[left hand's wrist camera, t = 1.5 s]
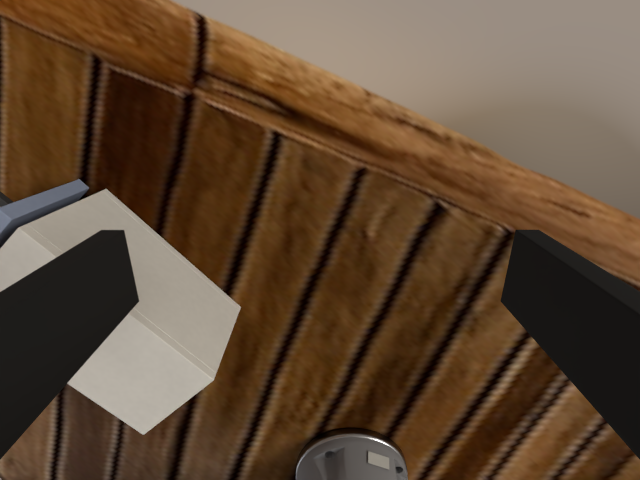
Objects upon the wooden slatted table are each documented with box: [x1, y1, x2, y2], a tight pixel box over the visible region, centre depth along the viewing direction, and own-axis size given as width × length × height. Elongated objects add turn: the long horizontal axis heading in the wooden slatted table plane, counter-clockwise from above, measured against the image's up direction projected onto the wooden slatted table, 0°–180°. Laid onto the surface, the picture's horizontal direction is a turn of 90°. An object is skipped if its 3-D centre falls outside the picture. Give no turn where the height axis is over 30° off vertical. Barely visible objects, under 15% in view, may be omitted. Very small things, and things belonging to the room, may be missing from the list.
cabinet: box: [0, 189, 241, 435], centre depth 35 cm, size 18×10×11 cm, turn 42°
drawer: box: [0, 179, 89, 248], centre depth 33 cm, size 23×8×10 cm, turn 42°
